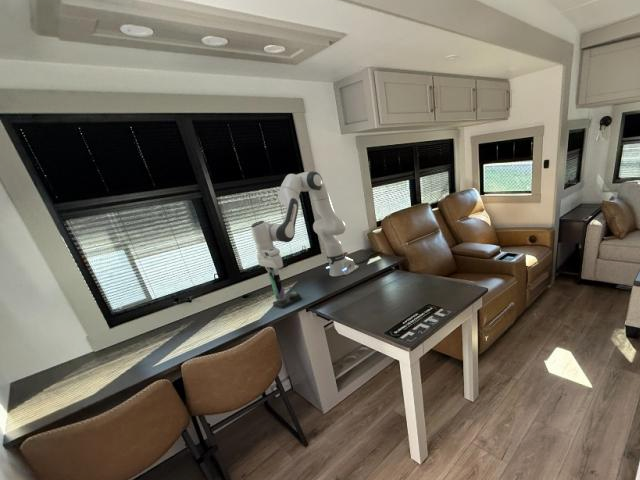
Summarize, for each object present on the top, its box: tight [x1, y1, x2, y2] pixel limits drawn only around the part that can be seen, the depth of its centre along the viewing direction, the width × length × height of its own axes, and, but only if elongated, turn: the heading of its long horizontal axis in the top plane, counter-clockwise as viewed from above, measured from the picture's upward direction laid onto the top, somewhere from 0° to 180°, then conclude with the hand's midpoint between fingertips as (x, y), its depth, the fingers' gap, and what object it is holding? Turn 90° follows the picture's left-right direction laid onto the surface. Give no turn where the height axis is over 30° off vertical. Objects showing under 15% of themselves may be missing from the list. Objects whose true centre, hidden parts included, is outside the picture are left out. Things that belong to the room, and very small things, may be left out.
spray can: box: [267, 268, 287, 301], centre depth 182 cm, size 6×6×20 cm
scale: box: [272, 291, 302, 310], centre depth 187 cm, size 14×11×4 cm
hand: (273, 274), depth 180 cm, fingers closed on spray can, 5 cm apart
